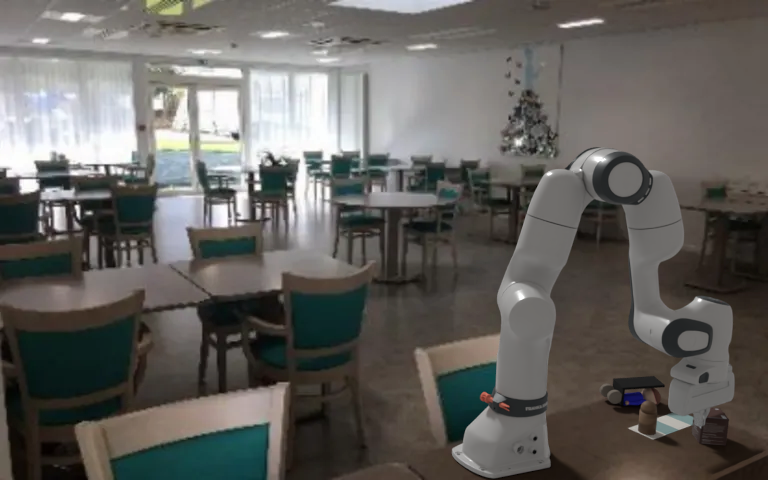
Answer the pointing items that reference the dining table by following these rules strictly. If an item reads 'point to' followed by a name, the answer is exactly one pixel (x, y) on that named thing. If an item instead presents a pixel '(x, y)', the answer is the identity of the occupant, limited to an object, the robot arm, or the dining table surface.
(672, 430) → the board
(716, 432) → the box
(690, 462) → the dining table surface
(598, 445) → the dining table surface
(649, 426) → the brown rounded cylinder
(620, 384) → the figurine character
